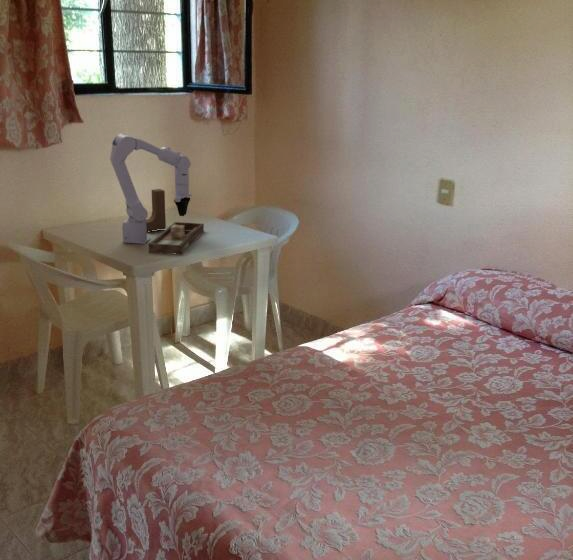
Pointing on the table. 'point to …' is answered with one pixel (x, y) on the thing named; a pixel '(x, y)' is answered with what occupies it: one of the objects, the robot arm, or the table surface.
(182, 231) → the maple block
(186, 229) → the track
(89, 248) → the table surface
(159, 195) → the wooden block
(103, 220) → the table surface
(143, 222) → the robot arm
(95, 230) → the table surface
